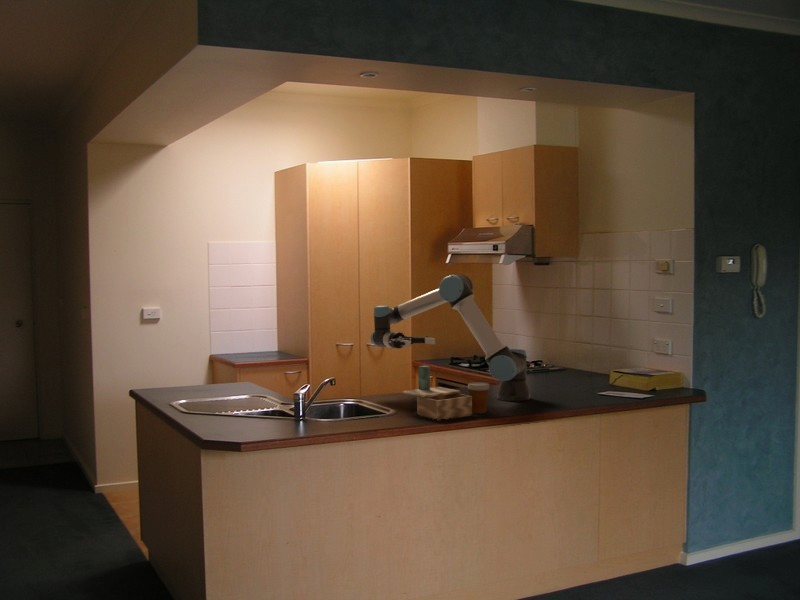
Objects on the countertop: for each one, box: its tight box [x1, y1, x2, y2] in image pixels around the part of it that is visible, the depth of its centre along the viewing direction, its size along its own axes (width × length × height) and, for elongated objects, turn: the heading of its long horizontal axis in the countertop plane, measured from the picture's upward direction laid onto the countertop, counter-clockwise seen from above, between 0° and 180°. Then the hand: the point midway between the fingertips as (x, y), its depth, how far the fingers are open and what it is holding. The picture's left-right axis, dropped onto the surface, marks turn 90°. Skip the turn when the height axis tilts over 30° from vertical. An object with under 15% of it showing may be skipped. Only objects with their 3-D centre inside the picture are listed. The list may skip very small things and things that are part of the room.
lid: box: [402, 365, 461, 397], centre depth 359 cm, size 19×15×11 cm
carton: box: [416, 393, 473, 421], centre depth 353 cm, size 18×14×8 cm
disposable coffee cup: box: [467, 381, 491, 414], centre depth 359 cm, size 10×10×12 cm
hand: (422, 342), depth 376 cm, fingers open, 13 cm apart
